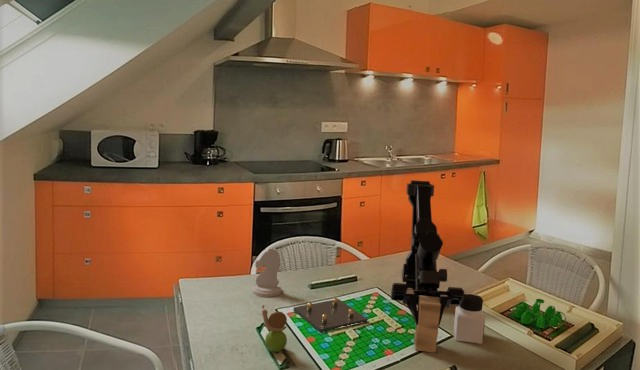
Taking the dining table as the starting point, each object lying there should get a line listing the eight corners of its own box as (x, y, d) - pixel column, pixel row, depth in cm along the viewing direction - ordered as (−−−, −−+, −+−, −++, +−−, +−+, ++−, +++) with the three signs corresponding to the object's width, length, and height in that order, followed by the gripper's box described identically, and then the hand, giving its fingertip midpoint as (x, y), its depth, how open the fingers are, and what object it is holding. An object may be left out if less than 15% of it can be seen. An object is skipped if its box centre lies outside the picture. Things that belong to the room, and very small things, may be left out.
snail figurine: (261, 345, 124) (262, 301, 122) (286, 345, 125) (287, 301, 123) (260, 355, 119) (261, 309, 117) (286, 355, 119) (288, 310, 117)
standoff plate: (338, 301, 154) (338, 293, 153) (367, 322, 140) (367, 312, 140) (293, 310, 146) (293, 301, 146) (319, 332, 132) (320, 322, 132)
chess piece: (256, 285, 166) (256, 242, 163) (284, 287, 165) (285, 244, 162) (249, 295, 156) (249, 251, 154) (278, 298, 155) (280, 253, 153)
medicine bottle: (482, 344, 130) (487, 302, 128) (455, 341, 131) (459, 299, 129) (479, 332, 136) (483, 292, 135) (453, 329, 138) (457, 289, 136)
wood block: (414, 340, 129) (419, 295, 127) (433, 343, 129) (438, 297, 126) (415, 350, 124) (420, 302, 122) (435, 352, 124) (440, 305, 122)
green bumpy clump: (569, 337, 137) (572, 314, 136) (513, 328, 141) (515, 305, 140) (560, 316, 151) (562, 295, 150) (509, 308, 155) (511, 288, 154)
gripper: (394, 253, 127) (393, 310, 118) (466, 258, 126) (471, 316, 117) (391, 272, 136) (390, 326, 127) (458, 277, 135) (462, 332, 126)
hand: (427, 325), depth 124 cm, fingers closed on wood block, 5 cm apart
